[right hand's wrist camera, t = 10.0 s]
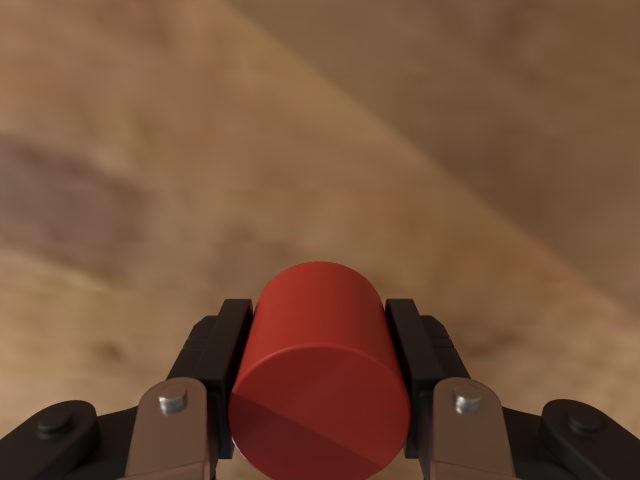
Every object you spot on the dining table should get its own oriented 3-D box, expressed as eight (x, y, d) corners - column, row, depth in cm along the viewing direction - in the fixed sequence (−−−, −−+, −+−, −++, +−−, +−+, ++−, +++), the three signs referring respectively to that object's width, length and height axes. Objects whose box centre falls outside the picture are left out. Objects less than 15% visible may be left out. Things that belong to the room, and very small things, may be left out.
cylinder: (280, 385, 13) (264, 506, 10) (235, 282, 12) (195, 373, 8) (398, 354, 13) (431, 467, 9) (363, 243, 12) (385, 321, 8)
